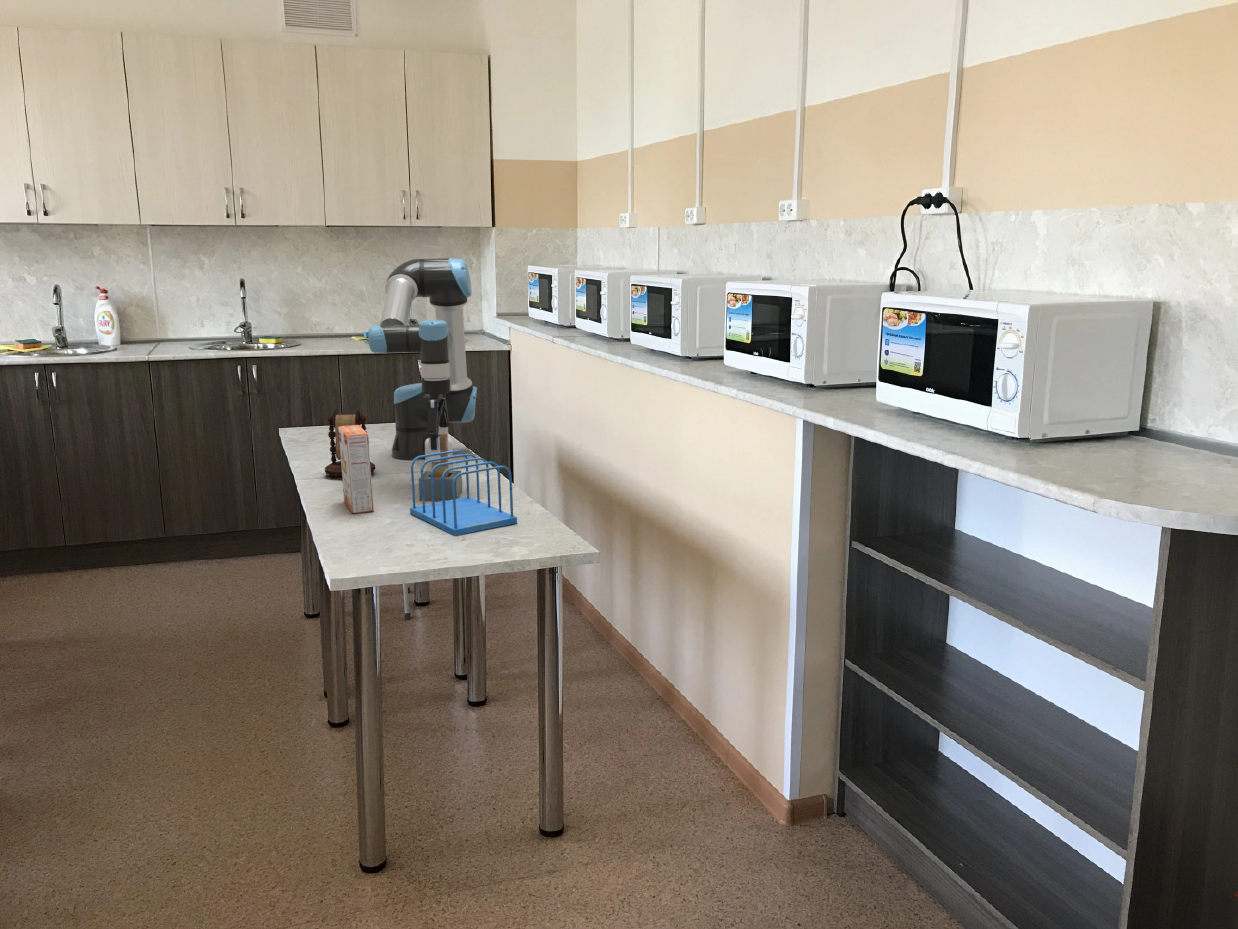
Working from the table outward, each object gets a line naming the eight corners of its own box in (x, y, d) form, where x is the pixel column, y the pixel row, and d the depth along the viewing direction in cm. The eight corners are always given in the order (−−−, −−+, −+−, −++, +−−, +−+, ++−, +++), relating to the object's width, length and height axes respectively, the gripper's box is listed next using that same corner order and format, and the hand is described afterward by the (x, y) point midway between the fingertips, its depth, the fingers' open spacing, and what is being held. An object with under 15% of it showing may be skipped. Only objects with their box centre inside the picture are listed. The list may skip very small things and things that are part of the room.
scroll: (319, 481, 290) (314, 413, 286) (332, 469, 305) (327, 405, 300) (369, 480, 291) (365, 413, 286) (380, 469, 305) (376, 405, 301)
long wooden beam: (434, 491, 273) (432, 434, 269) (449, 491, 273) (446, 434, 269) (432, 493, 270) (430, 436, 266) (447, 493, 270) (444, 436, 266)
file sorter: (409, 514, 254) (406, 456, 250) (469, 504, 264) (467, 447, 260) (454, 536, 234) (451, 473, 231) (517, 524, 244) (516, 463, 241)
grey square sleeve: (426, 491, 276) (425, 470, 275) (462, 491, 276) (461, 470, 275) (419, 500, 267) (418, 479, 265) (456, 500, 267) (455, 478, 265)
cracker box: (342, 502, 266) (337, 425, 261) (365, 499, 268) (360, 424, 264) (350, 514, 253) (345, 434, 249) (374, 512, 256) (369, 432, 251)
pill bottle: (447, 482, 287) (445, 431, 284) (422, 481, 289) (419, 430, 286) (457, 476, 295) (455, 426, 292) (432, 475, 297) (429, 426, 293)
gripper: (430, 372, 277) (433, 446, 281) (412, 385, 252) (417, 466, 257) (457, 371, 277) (460, 445, 281) (441, 385, 252) (445, 466, 257)
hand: (439, 455), depth 269 cm, fingers open, 13 cm apart
